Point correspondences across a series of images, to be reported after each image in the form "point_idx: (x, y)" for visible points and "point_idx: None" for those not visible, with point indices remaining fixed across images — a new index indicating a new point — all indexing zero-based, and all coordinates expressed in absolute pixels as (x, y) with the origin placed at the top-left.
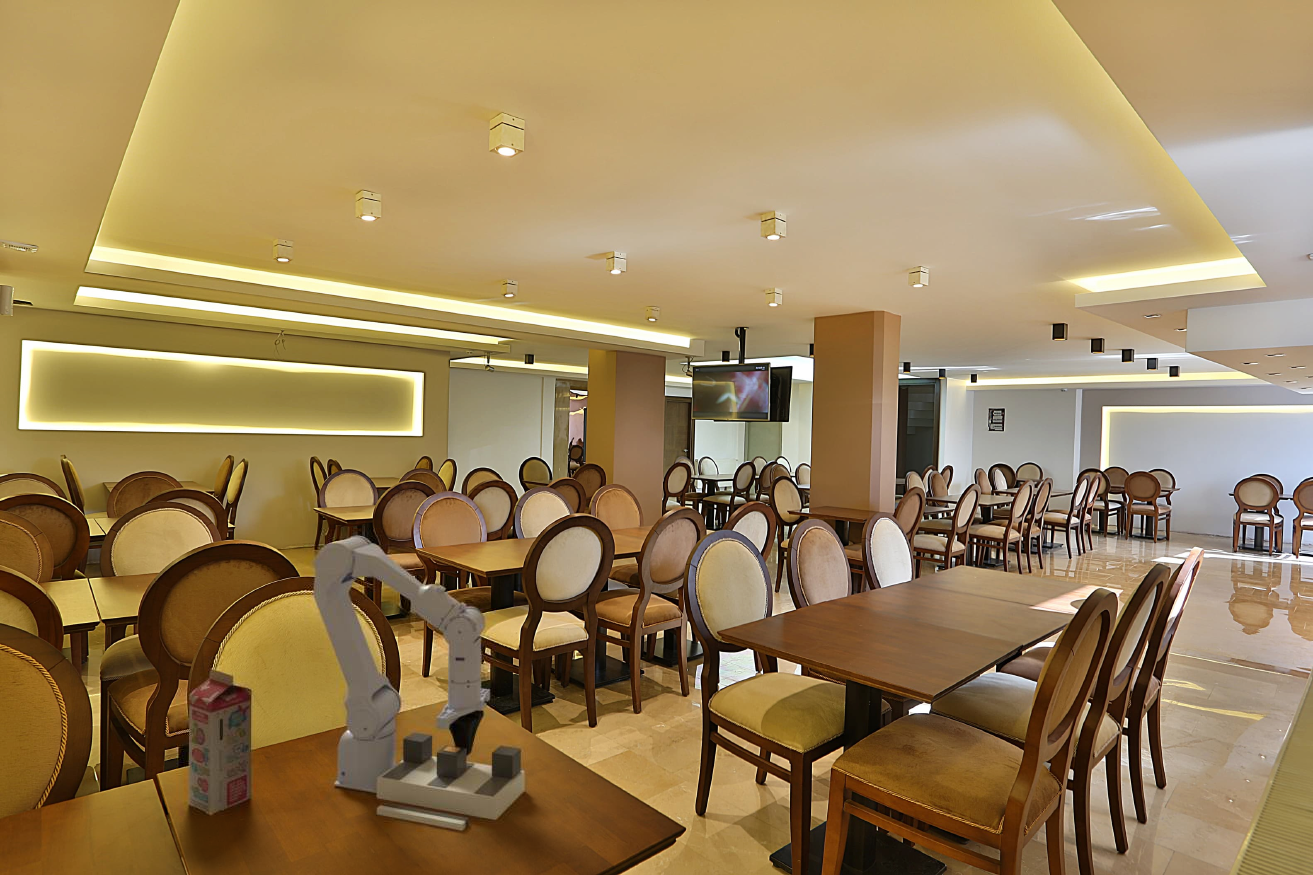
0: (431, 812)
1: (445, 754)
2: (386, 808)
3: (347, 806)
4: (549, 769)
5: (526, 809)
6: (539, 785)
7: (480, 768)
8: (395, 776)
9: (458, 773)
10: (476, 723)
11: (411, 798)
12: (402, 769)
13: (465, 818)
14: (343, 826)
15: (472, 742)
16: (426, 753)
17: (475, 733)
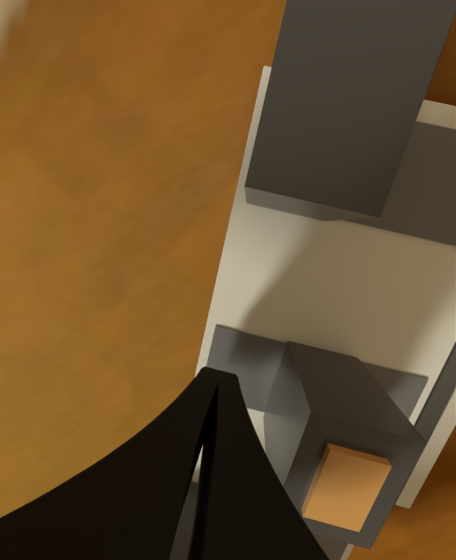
0: (448, 371)
1: (391, 500)
2: (412, 487)
3: (356, 553)
4: (90, 59)
5: None
6: (215, 62)
7: (250, 291)
8: (331, 545)
9: (351, 363)
10: (163, 529)
11: None
12: None
13: None
14: (453, 537)
15: (200, 394)
16: None
17: (161, 421)
